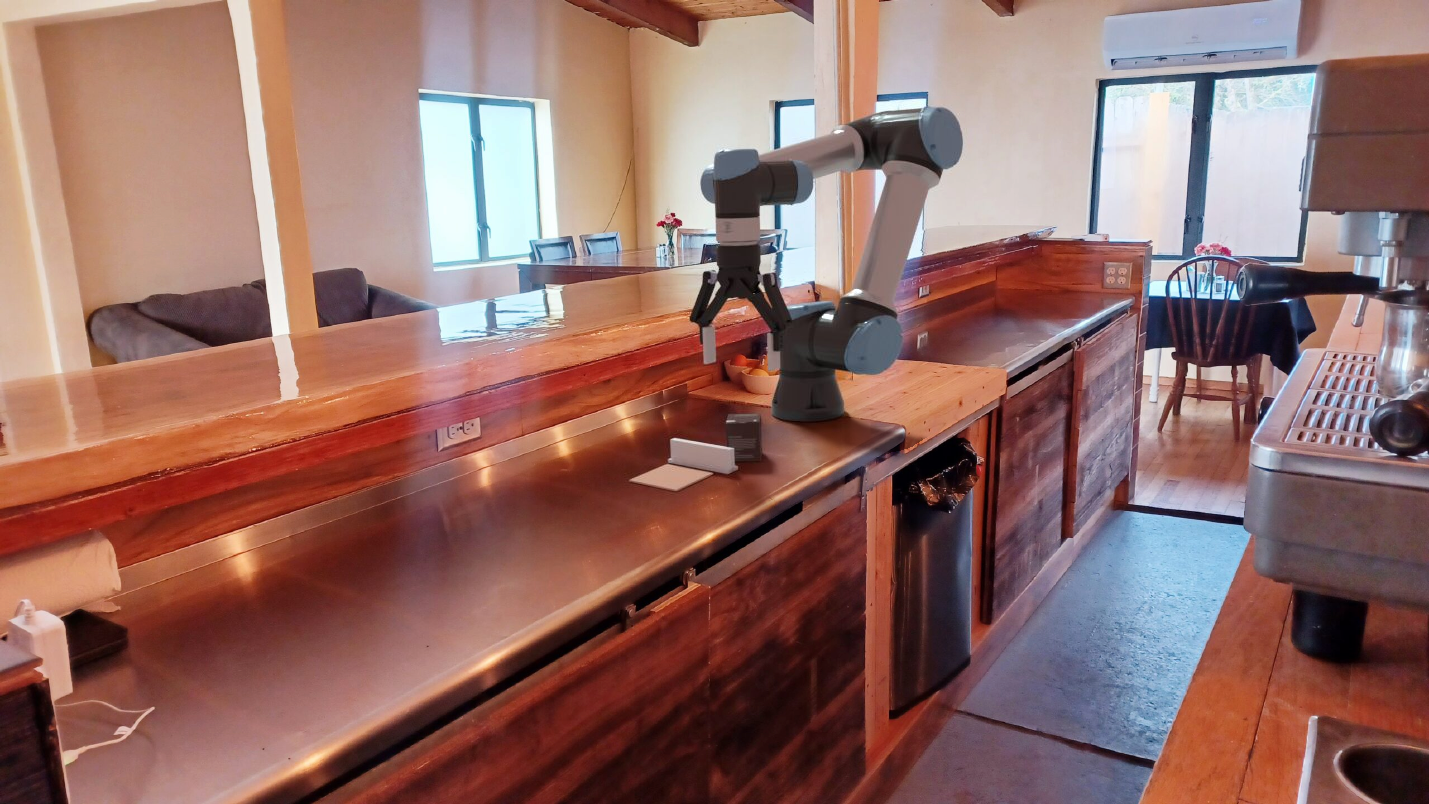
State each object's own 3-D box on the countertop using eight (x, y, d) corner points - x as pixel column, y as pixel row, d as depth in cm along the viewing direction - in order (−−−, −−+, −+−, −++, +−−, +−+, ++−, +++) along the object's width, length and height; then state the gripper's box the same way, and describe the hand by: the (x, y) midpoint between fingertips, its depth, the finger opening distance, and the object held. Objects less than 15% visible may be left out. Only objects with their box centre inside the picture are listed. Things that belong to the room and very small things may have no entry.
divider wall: (678, 458, 170) (677, 436, 169) (737, 469, 162) (737, 446, 161) (668, 462, 167) (666, 440, 166) (727, 474, 160) (726, 451, 159)
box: (762, 452, 172) (761, 413, 170) (761, 462, 166) (760, 422, 164) (729, 452, 172) (728, 413, 170) (726, 462, 166) (725, 422, 165)
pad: (667, 465, 166) (667, 464, 165) (713, 474, 160) (712, 472, 160) (629, 481, 158) (629, 479, 158) (676, 491, 152) (676, 489, 152)
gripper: (667, 243, 164) (672, 363, 169) (789, 246, 150) (790, 377, 155) (693, 240, 170) (697, 356, 175) (813, 242, 156) (814, 369, 160)
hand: (741, 366), depth 165 cm, fingers open, 13 cm apart
